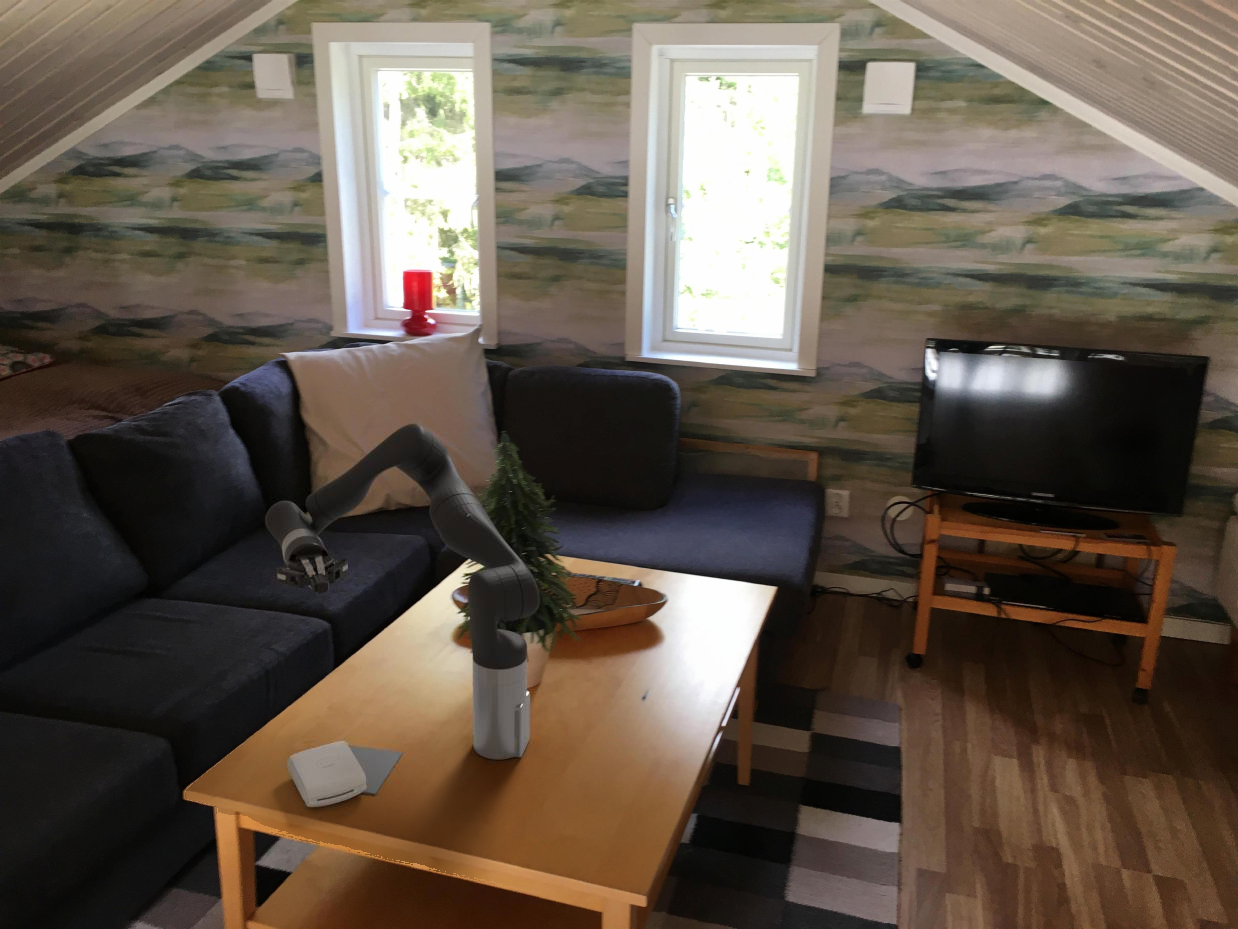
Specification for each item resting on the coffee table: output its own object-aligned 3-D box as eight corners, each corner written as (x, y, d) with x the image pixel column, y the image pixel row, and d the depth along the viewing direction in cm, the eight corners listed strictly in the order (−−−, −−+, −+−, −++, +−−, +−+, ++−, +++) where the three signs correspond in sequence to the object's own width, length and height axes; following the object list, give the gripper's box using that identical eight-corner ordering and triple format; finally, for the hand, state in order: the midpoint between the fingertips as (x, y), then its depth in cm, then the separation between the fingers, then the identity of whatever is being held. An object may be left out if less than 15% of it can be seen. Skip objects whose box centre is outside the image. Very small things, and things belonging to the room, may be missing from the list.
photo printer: (348, 736, 172) (370, 775, 162) (349, 758, 173) (372, 798, 163) (285, 753, 167) (304, 794, 157) (287, 775, 168) (306, 817, 158)
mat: (402, 753, 176) (402, 752, 176) (375, 795, 164) (375, 793, 164) (342, 745, 177) (342, 744, 177) (311, 786, 166) (311, 784, 166)
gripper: (266, 539, 188) (280, 574, 174) (339, 530, 194) (359, 563, 179) (269, 577, 191) (283, 614, 176) (341, 567, 196) (361, 602, 181)
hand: (321, 588), depth 178 cm, fingers closed
